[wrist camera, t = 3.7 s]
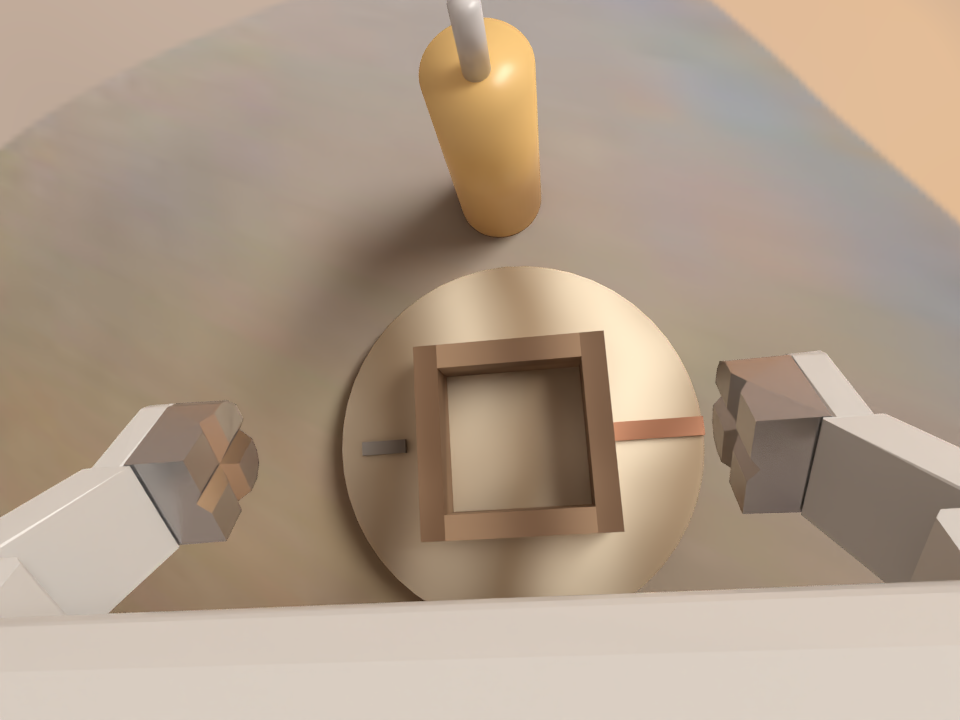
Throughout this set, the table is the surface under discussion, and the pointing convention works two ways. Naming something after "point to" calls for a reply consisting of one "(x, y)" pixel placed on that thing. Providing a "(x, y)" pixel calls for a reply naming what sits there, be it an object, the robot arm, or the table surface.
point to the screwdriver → (485, 117)
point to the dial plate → (523, 440)
